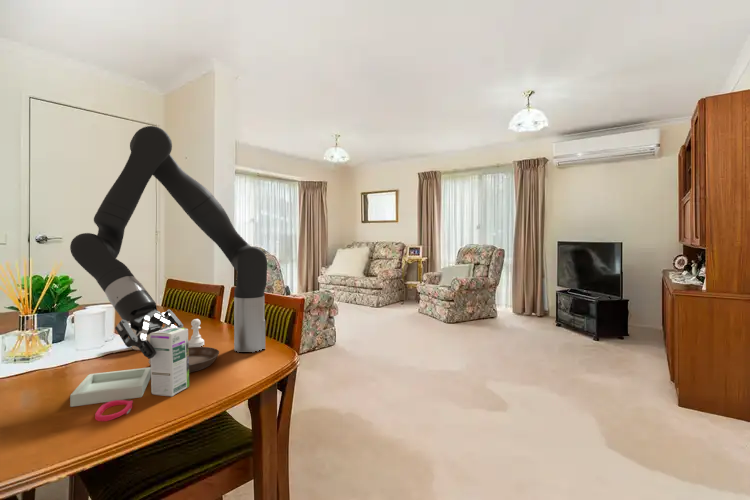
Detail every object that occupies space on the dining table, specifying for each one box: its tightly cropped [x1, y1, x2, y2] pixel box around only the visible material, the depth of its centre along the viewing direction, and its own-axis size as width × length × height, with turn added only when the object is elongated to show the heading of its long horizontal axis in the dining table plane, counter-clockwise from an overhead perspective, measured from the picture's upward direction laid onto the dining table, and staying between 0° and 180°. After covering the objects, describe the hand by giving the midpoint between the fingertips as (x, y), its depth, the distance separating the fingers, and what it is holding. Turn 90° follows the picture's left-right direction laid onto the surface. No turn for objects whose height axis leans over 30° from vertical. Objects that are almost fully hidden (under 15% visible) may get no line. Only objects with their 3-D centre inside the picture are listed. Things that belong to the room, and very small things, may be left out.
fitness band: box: [94, 399, 134, 422], centre depth 77 cm, size 8×6×2 cm
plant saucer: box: [148, 346, 220, 374], centre depth 105 cm, size 18×18×3 cm
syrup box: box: [150, 327, 190, 397], centre depth 87 cm, size 6×6×14 cm
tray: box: [69, 366, 151, 408], centre depth 87 cm, size 13×13×2 cm
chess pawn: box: [188, 318, 205, 348], centre depth 123 cm, size 5×5×9 cm
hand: (168, 350), depth 87 cm, fingers open, 8 cm apart
